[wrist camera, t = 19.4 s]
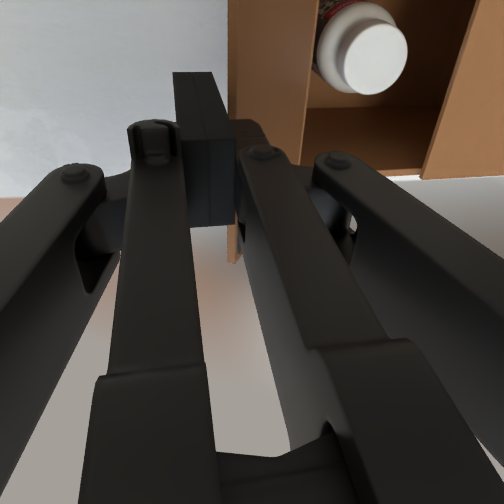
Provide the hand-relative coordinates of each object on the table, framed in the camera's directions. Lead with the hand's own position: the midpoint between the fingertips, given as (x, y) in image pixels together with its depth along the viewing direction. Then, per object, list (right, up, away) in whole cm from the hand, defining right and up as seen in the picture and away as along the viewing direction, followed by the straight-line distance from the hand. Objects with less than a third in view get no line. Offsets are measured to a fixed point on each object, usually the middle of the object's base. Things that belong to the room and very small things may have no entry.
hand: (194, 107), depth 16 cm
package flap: (+4, +1, +2) cm, 4 cm away
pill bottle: (+8, +12, +15) cm, 21 cm away
